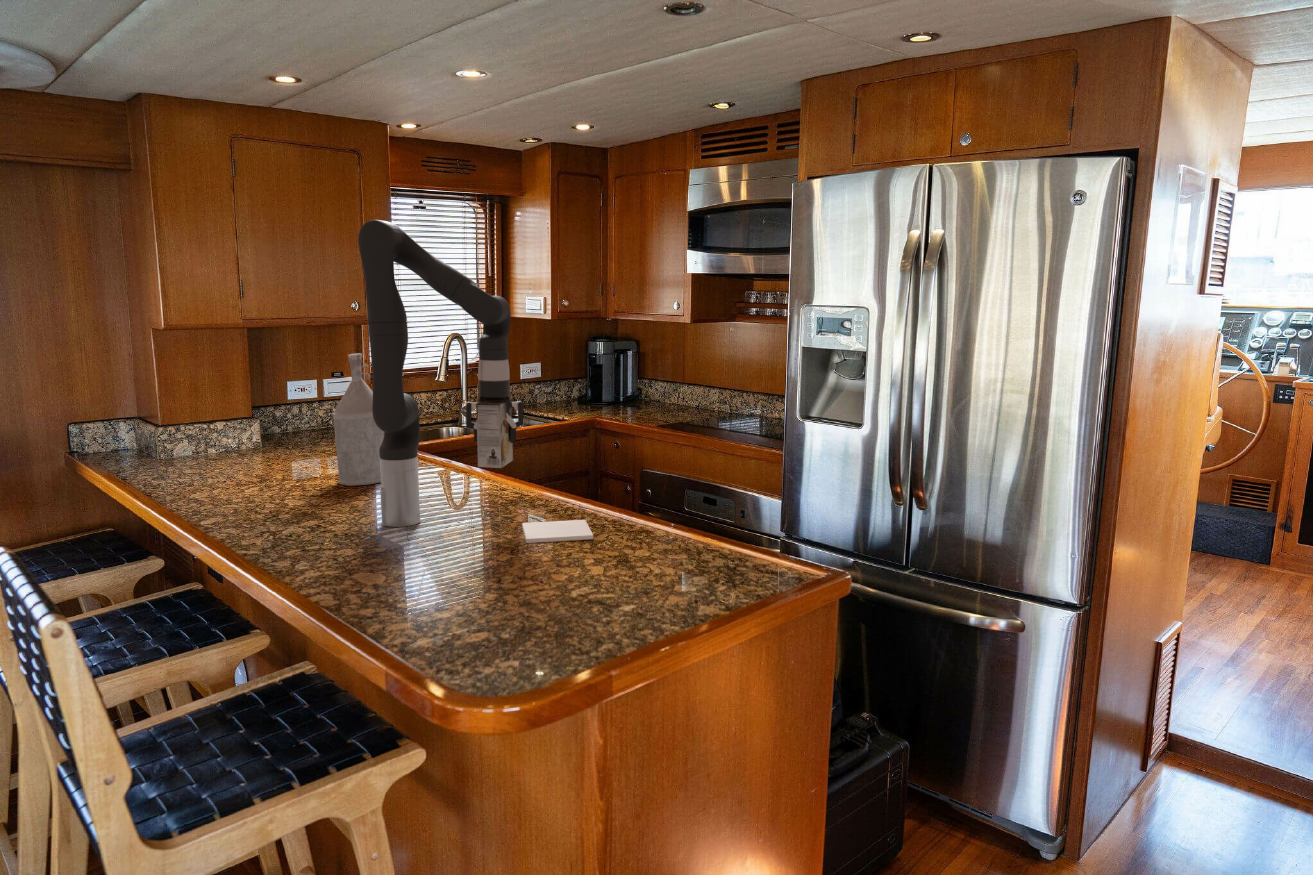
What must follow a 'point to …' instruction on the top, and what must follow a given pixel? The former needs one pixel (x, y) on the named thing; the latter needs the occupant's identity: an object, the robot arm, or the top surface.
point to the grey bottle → (357, 431)
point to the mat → (556, 531)
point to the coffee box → (493, 434)
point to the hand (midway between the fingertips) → (495, 443)
